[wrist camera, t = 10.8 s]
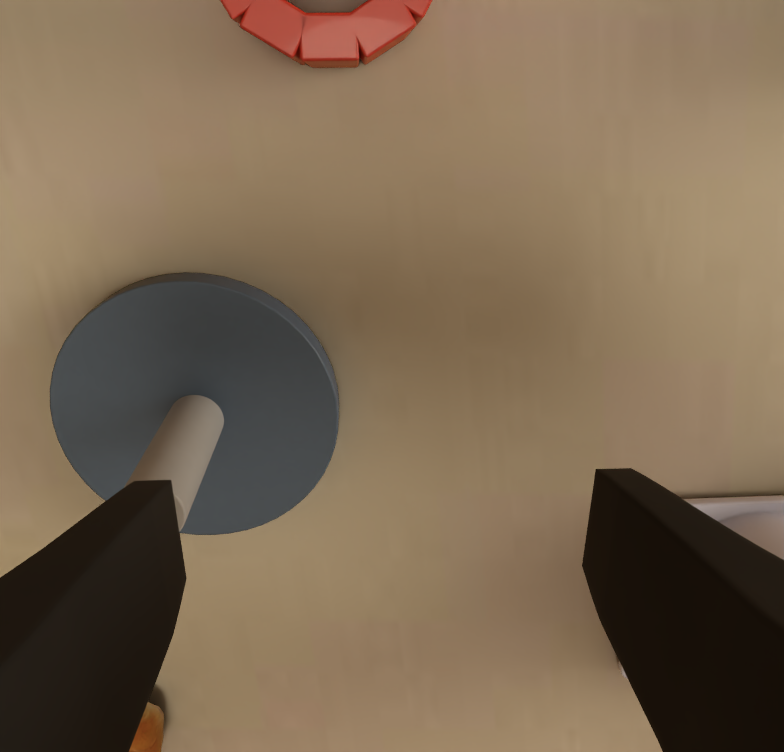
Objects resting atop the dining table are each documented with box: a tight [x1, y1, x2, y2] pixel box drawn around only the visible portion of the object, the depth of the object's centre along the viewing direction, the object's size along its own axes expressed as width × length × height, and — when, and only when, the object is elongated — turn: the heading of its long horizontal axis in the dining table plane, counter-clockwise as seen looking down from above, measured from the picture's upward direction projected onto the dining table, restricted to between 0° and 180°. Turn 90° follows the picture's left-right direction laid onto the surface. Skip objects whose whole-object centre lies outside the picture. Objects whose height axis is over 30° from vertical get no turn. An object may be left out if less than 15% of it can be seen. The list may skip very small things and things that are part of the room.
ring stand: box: [50, 273, 339, 535], centre depth 18 cm, size 8×8×6 cm
